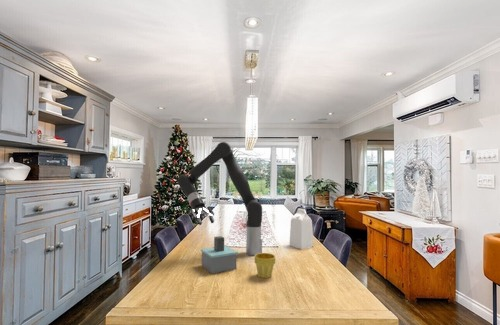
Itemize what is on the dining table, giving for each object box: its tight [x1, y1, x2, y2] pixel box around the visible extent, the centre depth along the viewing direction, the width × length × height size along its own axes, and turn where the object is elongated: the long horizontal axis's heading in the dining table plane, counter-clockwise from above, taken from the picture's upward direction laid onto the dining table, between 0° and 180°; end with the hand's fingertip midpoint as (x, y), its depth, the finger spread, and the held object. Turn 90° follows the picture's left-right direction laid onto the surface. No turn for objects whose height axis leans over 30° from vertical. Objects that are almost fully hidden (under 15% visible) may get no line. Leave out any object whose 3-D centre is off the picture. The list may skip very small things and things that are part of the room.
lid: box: [200, 235, 239, 258], centre depth 148 cm, size 15×15×9 cm
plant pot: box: [254, 252, 276, 279], centre depth 137 cm, size 10×10×10 cm
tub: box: [201, 251, 238, 275], centre depth 148 cm, size 14×14×8 cm
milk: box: [289, 208, 314, 250], centre depth 194 cm, size 12×12×26 cm
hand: (207, 223), depth 156 cm, fingers open, 8 cm apart
